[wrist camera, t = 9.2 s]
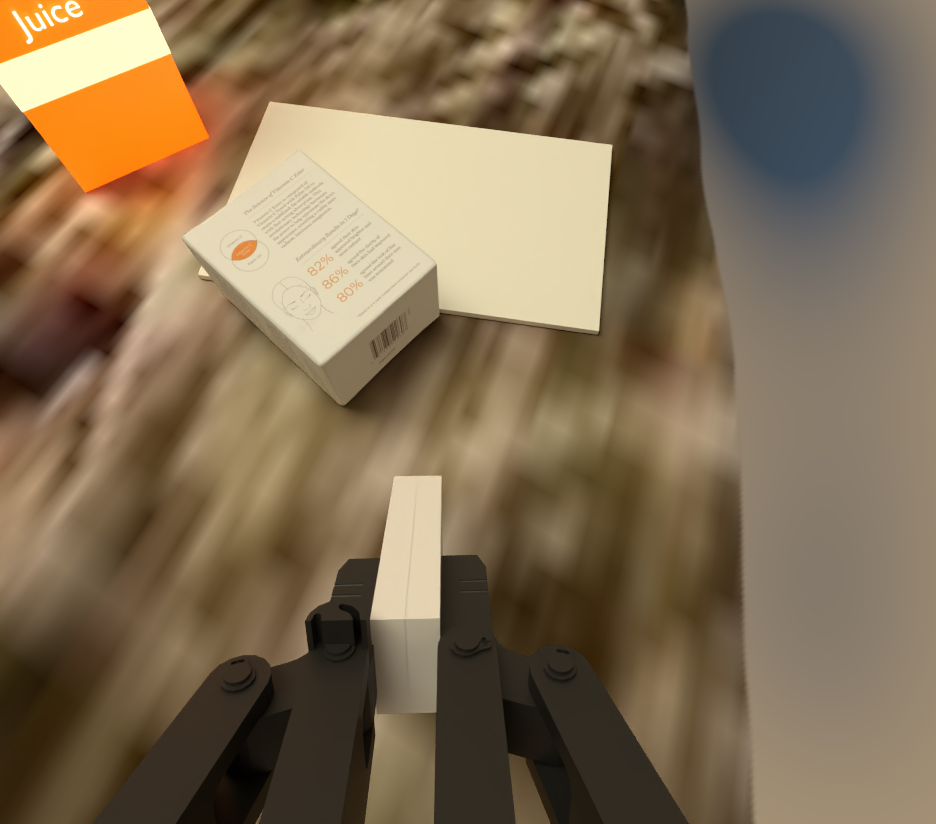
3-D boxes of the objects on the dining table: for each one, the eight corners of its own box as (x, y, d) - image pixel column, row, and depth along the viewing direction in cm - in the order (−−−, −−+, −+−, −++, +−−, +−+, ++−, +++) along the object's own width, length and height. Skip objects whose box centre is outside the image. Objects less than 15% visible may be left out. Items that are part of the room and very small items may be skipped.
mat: (200, 278, 35) (197, 274, 35) (271, 106, 41) (269, 101, 41) (597, 334, 34) (598, 331, 34) (610, 149, 40) (612, 145, 40)
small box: (443, 317, 34) (322, 213, 36) (440, 261, 29) (299, 144, 31) (341, 410, 32) (220, 294, 34) (317, 369, 27) (177, 234, 29)
